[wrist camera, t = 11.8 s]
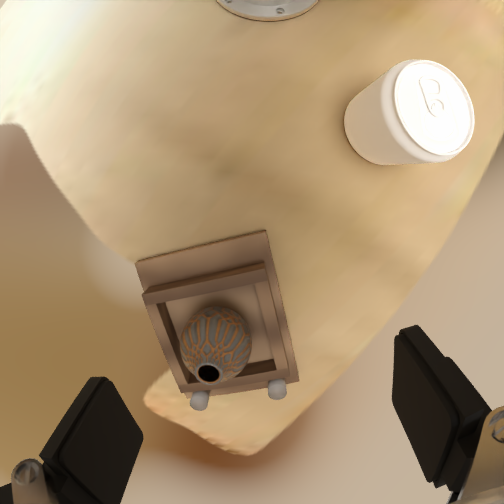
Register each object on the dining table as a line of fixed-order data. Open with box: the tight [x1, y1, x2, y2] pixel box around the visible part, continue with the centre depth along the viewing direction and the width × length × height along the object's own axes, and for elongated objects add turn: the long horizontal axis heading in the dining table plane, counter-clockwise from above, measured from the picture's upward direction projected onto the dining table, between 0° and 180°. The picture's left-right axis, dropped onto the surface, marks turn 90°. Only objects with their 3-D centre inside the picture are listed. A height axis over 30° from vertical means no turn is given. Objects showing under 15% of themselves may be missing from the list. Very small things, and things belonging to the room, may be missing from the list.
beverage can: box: [344, 60, 474, 165], centre depth 23 cm, size 8×8×12 cm
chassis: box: [135, 230, 299, 411], centre depth 32 cm, size 18×14×4 cm
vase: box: [180, 306, 252, 385], centre depth 28 cm, size 7×7×9 cm
